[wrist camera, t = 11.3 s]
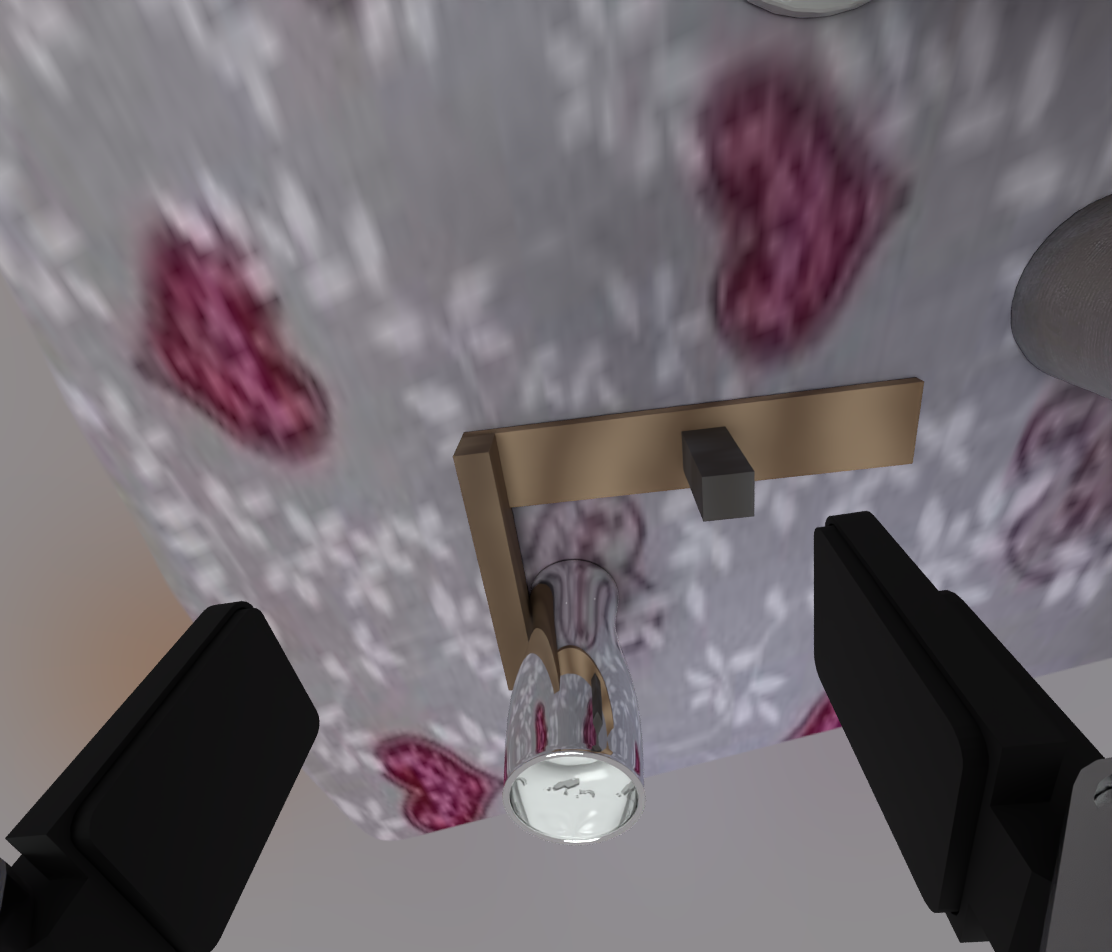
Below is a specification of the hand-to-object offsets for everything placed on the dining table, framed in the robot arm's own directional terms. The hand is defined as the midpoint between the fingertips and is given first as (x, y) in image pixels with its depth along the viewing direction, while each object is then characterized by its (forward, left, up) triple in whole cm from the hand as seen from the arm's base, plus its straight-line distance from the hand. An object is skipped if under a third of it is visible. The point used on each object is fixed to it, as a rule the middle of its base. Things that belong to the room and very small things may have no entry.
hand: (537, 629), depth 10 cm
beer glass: (+2, +18, -25) cm, 31 cm away
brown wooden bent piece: (-6, +14, -24) cm, 29 cm away
